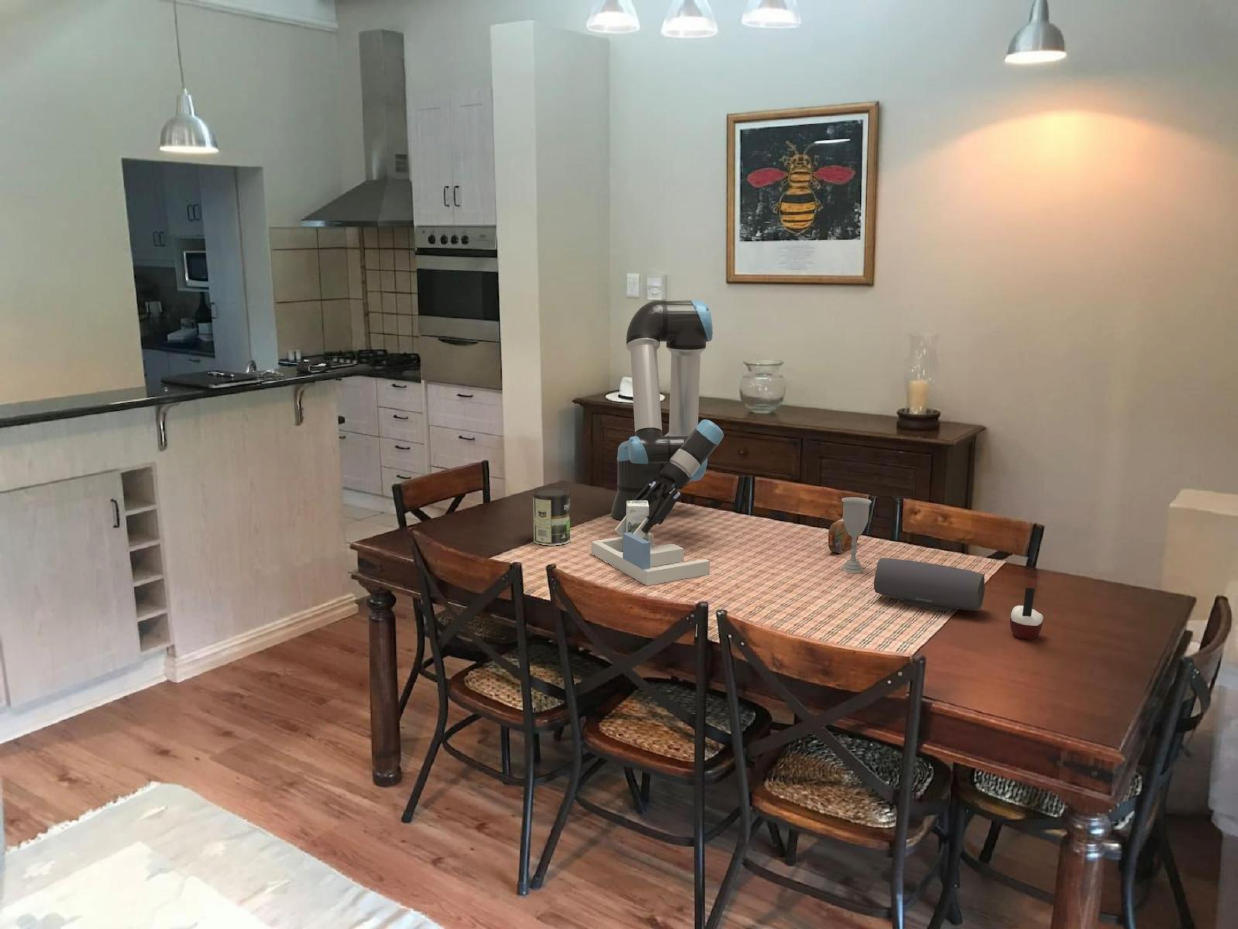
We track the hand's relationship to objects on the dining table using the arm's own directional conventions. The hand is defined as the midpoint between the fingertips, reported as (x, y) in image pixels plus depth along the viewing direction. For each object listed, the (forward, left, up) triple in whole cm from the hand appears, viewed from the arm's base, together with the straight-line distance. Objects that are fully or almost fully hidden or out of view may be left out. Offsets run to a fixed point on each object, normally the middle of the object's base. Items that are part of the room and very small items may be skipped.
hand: (625, 537), depth 258 cm
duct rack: (+8, +2, -6) cm, 10 cm away
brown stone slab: (+21, +55, -6) cm, 60 cm away
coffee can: (-23, -11, -6) cm, 26 cm away
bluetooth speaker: (+64, +42, -6) cm, 77 cm away
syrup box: (0, +3, -6) cm, 7 cm away
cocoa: (+87, +46, -6) cm, 99 cm away
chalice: (+36, +45, -6) cm, 58 cm away
